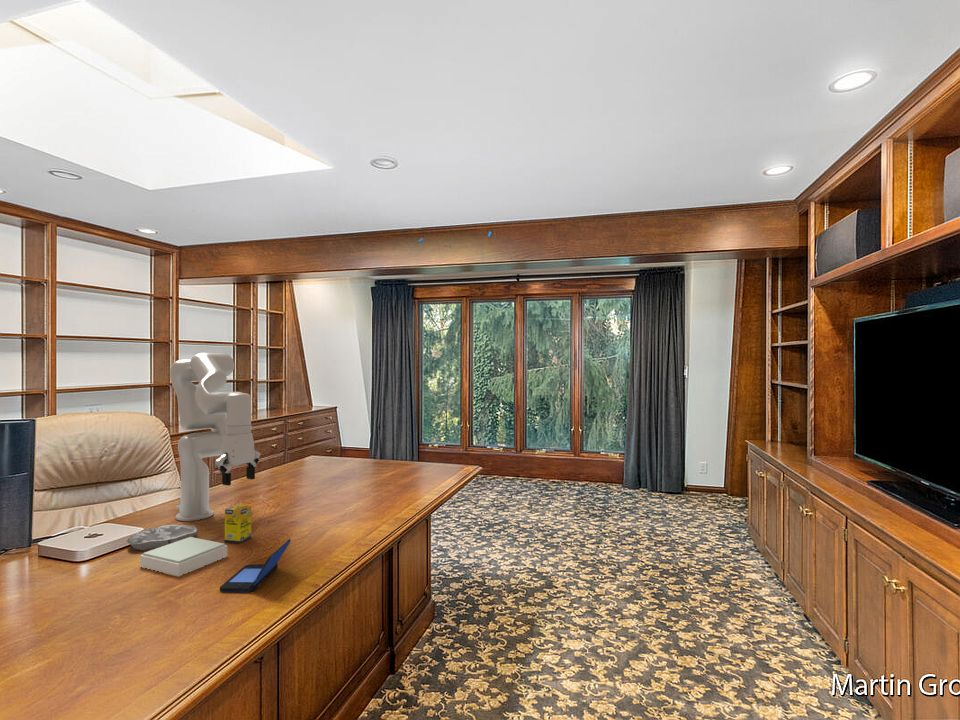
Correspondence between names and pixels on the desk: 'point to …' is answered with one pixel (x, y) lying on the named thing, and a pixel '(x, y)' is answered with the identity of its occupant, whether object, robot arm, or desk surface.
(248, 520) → the supplement box
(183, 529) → the brain slice
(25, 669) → the desk surface
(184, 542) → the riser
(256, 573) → the handheld game console
